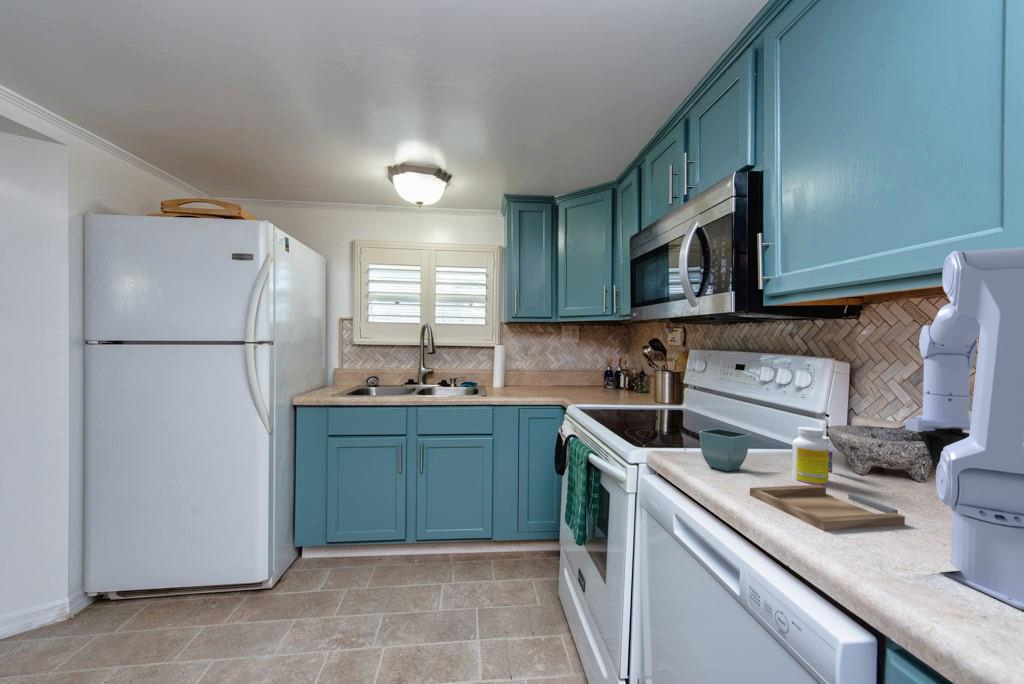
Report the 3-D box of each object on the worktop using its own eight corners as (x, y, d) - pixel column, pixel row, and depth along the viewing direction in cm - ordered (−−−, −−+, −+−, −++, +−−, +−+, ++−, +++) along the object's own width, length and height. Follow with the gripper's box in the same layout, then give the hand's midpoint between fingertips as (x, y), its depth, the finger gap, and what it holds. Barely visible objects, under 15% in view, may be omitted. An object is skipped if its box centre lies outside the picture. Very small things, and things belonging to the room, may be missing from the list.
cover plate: (949, 528, 75) (950, 511, 75) (894, 533, 73) (895, 515, 73) (879, 503, 87) (879, 488, 87) (829, 506, 85) (830, 491, 85)
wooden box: (904, 534, 71) (904, 516, 71) (823, 540, 68) (823, 521, 68) (818, 499, 87) (818, 484, 87) (749, 502, 84) (749, 487, 84)
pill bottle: (836, 476, 103) (837, 439, 103) (812, 474, 104) (813, 438, 104) (825, 470, 108) (826, 435, 108) (802, 468, 109) (803, 433, 109)
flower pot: (716, 461, 114) (717, 427, 114) (750, 470, 106) (751, 434, 106) (697, 466, 109) (698, 430, 109) (731, 475, 101) (732, 437, 101)
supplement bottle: (834, 493, 91) (836, 432, 91) (800, 490, 92) (802, 430, 92) (817, 482, 97) (818, 426, 97) (785, 480, 98) (787, 425, 99)
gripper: (950, 391, 81) (949, 464, 80) (888, 391, 78) (886, 466, 78) (999, 396, 74) (998, 475, 74) (932, 396, 71) (931, 478, 71)
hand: (943, 471), depth 75 cm, fingers closed
